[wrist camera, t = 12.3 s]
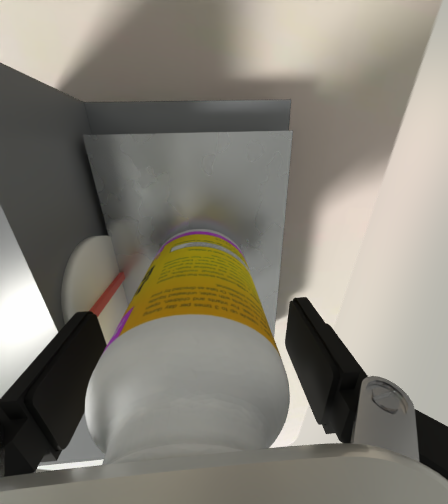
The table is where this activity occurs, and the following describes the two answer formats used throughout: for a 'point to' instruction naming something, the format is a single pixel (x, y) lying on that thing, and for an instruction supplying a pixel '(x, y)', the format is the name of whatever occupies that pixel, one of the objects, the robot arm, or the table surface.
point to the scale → (75, 212)
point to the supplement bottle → (189, 360)
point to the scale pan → (194, 197)
